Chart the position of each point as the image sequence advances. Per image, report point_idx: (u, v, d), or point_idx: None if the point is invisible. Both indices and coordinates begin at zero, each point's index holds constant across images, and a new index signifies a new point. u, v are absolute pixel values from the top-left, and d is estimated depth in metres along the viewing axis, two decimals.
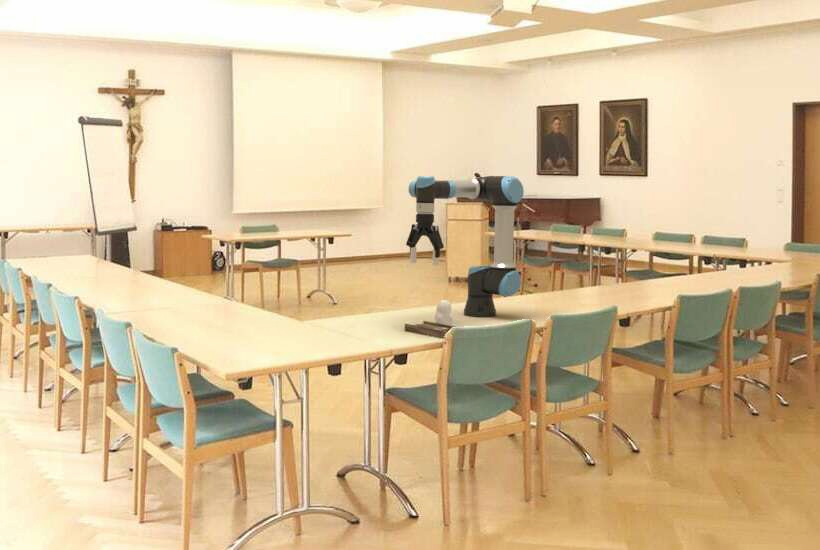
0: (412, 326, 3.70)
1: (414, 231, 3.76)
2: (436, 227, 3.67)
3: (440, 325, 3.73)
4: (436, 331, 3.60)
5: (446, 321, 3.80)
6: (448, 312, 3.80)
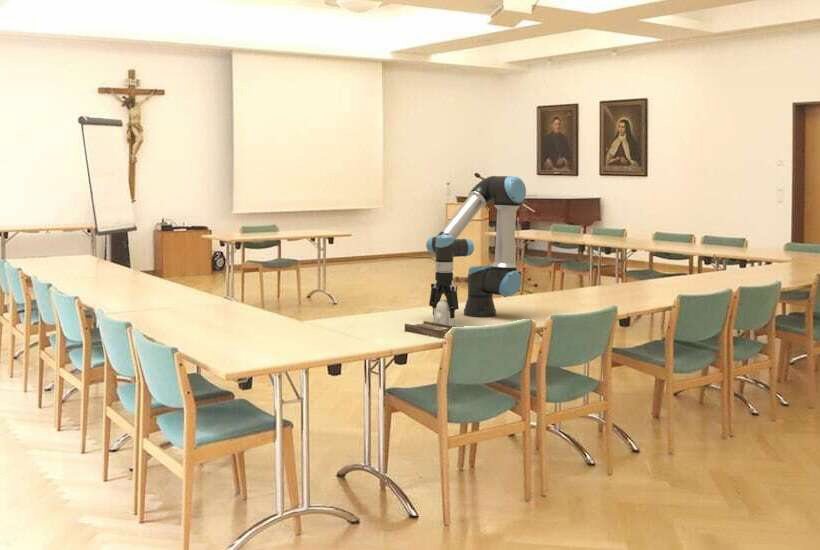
0: (412, 326, 3.70)
1: (434, 290, 3.86)
2: (455, 288, 3.77)
3: (440, 325, 3.73)
4: (436, 331, 3.60)
5: (446, 321, 3.81)
6: None
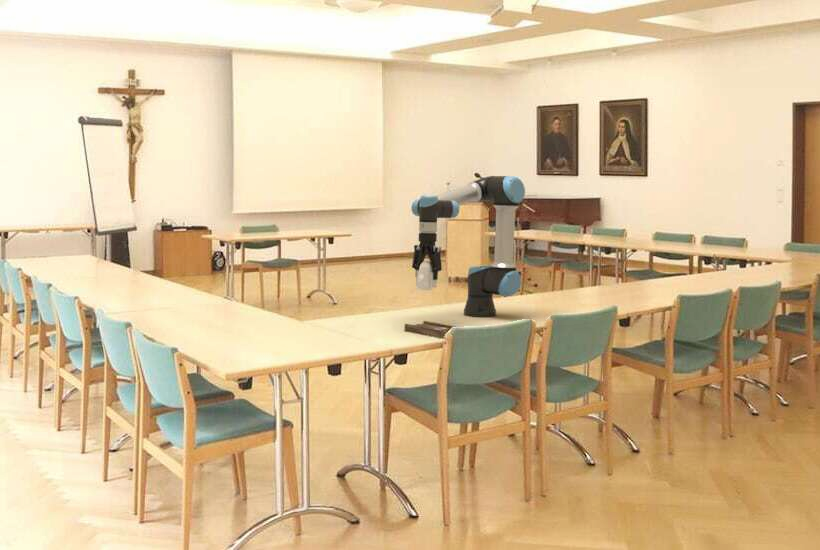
0: (412, 326, 3.70)
1: (417, 252, 3.78)
2: (438, 249, 3.69)
3: (440, 325, 3.73)
4: (436, 331, 3.60)
5: (428, 283, 3.73)
6: None
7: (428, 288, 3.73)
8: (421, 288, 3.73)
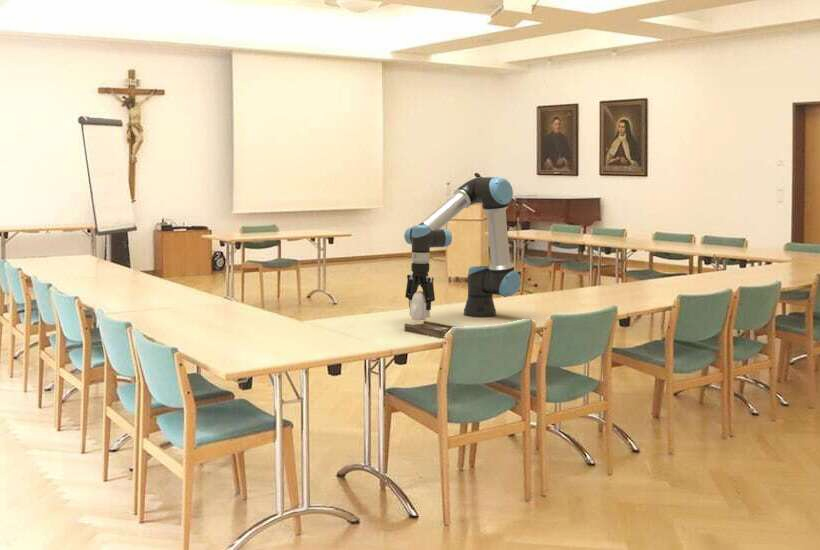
0: (412, 326, 3.70)
1: (411, 281, 3.77)
2: (431, 279, 3.68)
3: (440, 325, 3.73)
4: (436, 331, 3.60)
5: (422, 313, 3.72)
6: None
7: (421, 318, 3.73)
8: (414, 318, 3.73)
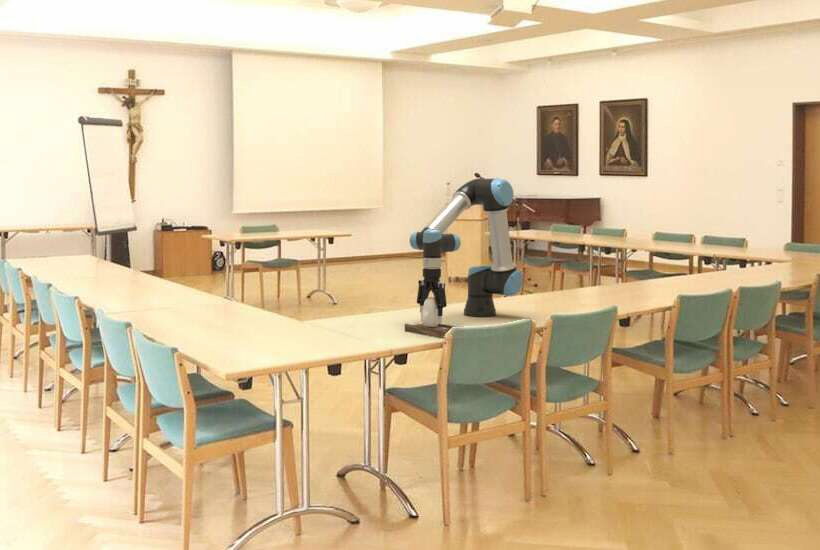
0: (412, 326, 3.70)
1: (422, 287, 3.72)
2: (443, 285, 3.63)
3: (440, 325, 3.73)
4: (436, 331, 3.60)
5: (433, 319, 3.67)
6: (435, 309, 3.67)
7: (433, 324, 3.68)
8: (426, 324, 3.68)
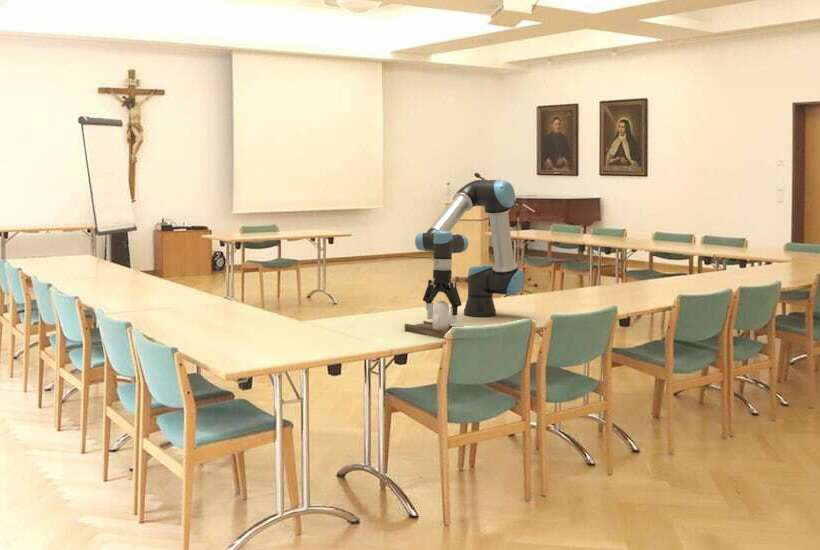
0: (412, 326, 3.70)
1: (431, 287, 3.68)
2: (454, 284, 3.59)
3: None
4: (436, 331, 3.60)
5: (444, 323, 3.63)
6: (446, 313, 3.63)
7: (444, 328, 3.63)
8: (436, 328, 3.64)
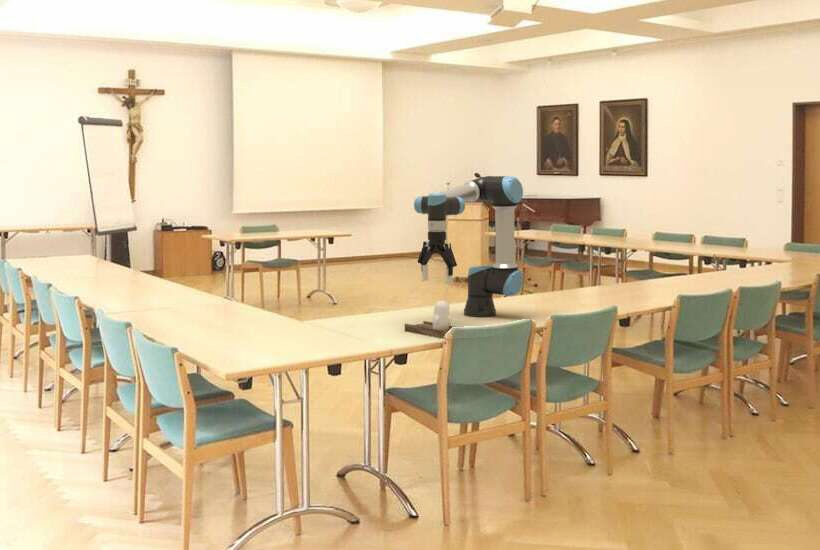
0: (412, 326, 3.70)
1: (426, 248, 3.73)
2: (449, 245, 3.63)
3: None
4: (436, 331, 3.60)
5: (444, 323, 3.63)
6: (446, 313, 3.63)
7: (444, 328, 3.63)
8: (436, 328, 3.64)
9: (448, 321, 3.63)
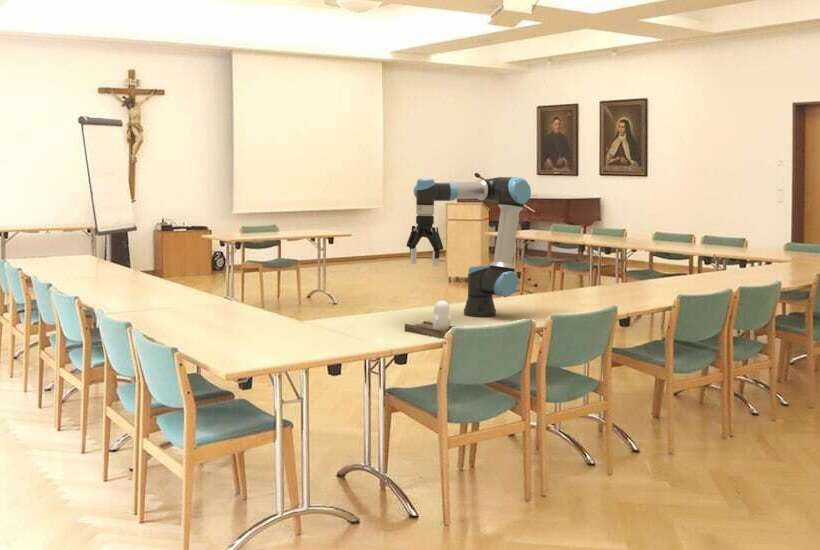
0: (412, 326, 3.70)
1: (414, 232, 3.84)
2: (436, 229, 3.74)
3: None
4: (436, 331, 3.60)
5: (444, 323, 3.63)
6: (446, 313, 3.63)
7: (444, 328, 3.63)
8: (436, 328, 3.64)
9: (448, 321, 3.63)
